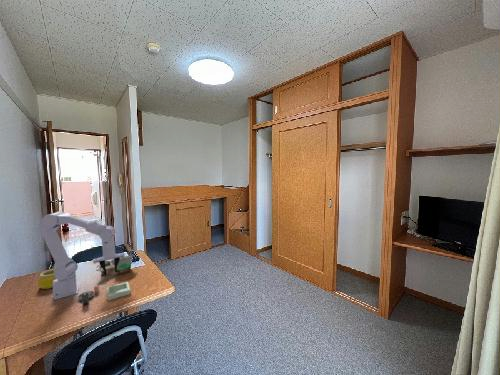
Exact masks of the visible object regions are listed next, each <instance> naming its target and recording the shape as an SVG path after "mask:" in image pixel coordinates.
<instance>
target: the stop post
mask: <svg viewBox="0 0 500 375" xmlns="http://www.w3.org/2000/svg"><path fill="white" fill-rule="evenodd" d="M93 289H94V290H93V292H94V295H95V294H99V293H100V286H99V284H98V285H94V286H93Z"/></svg>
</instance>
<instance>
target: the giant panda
mask: <svg viewBox="0 0 500 375" xmlns="http://www.w3.org/2000/svg"><path fill="white" fill-rule="evenodd" d="M112 260H114V259H112ZM112 260H107V261H105V268H106V266H110V265H113V264H112V263H111V261H112ZM95 271H97V272H100V276H101V277H103V276H106V274H105V273H104V270H103V268H102V267H101V266H100V263H98V264H97V266H96V269H95Z"/></svg>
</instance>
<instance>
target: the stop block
mask: <svg viewBox="0 0 500 375" xmlns="http://www.w3.org/2000/svg"><path fill="white" fill-rule="evenodd" d="M105 277H106V279H107V278H113V277H116V275H115V266H114V265H110V266H106V274H105Z"/></svg>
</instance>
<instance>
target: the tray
mask: <svg viewBox="0 0 500 375" xmlns="http://www.w3.org/2000/svg"><path fill="white" fill-rule="evenodd" d="M106 292H107V294H106V295H107V301H112V300H115V299H118V298H122V297H125V296H128V295H129V296H130V295H131V287H130V284H129V282H128V281H125V282H122V283H119V284H118V283H117V284H114V285H110V286H107V287H106Z"/></svg>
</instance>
